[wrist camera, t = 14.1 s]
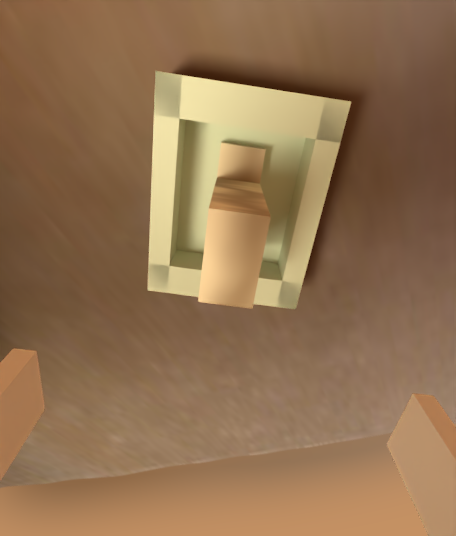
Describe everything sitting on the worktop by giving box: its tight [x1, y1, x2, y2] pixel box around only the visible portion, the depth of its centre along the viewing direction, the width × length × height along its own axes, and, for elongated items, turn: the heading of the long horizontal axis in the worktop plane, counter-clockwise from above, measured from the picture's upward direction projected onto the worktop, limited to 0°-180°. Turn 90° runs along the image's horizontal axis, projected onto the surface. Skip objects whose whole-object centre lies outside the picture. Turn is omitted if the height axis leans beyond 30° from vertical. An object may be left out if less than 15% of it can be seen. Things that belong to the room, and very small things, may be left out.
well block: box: [148, 71, 351, 309], centre depth 31 cm, size 15×19×5 cm
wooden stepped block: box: [198, 142, 271, 309], centre depth 27 cm, size 4×10×12 cm, turn 172°
